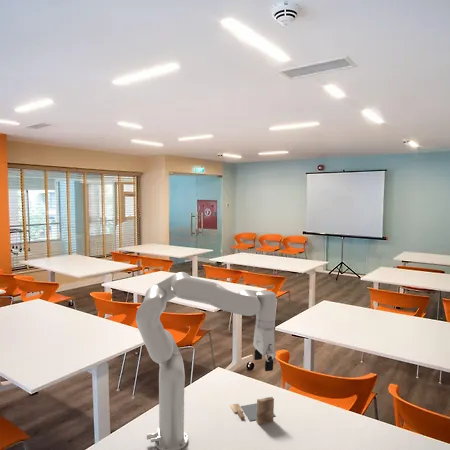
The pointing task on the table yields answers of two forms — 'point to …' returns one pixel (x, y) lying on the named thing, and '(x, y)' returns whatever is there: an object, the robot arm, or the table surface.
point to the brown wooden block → (265, 410)
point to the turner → (237, 410)
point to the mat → (251, 411)
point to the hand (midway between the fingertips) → (263, 364)
